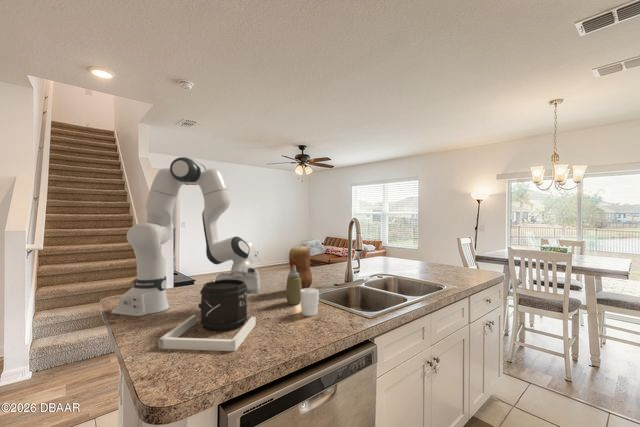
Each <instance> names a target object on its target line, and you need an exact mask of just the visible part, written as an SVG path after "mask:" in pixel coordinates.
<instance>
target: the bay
mask: <svg viewBox="0 0 640 427" xmlns="http://www.w3.org/2000/svg"><path fill="white" fill-rule="evenodd" d="M256 318H257V317H256V316H251V317H250V318H249V319H248V321H246V322H245V324H244V325H243V326H242V328H241V329H240V330H238V332H237V334H236V335H234V336H233V338H232V339H231V338H227V339H226V338H224V339H223V338H202V337H201V338H199V337H197V338H196V337H195V338H194V337H181V336H182V335H183V334H184V333H186V332H187V331H188V330H190V329H191V328H192V327H193V326H195V325H196V324H198V315H196V314H193V315H192V316H190V317H188V318H187V319H185V320H184V321H183V322H181V323H180V324H178V325H177V326H175V327H174V328H172V329H171V330H169V331H168V332H166V333H165V334H164V335H163V336H161V337H160V338H159V339H158V349H159V350H160V349H161V350H163V349H164V350H189V351H190V350H192V351H193V350H194V351H217V352H218V351H221V352H236V351H237V350H238V348H239V347H240V346H241V344H242V343H243V341H244V340H245V339H246V338H247V337H248V335H249V334H250V333H251V331H252V330H253V328H254V327H255V326H256V324H257V323H256V322H257V319H256Z"/></svg>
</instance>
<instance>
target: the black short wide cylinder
mask: <svg viewBox="0 0 640 427" xmlns="http://www.w3.org/2000/svg"><path fill="white" fill-rule="evenodd" d="M246 291H247V285H246V284H245V281H241V280H237V279H224V280H216V279H215V280H214V281H213V280H211V281H209V282H206V283H204V285H203V287H201V289H200V295H201V296H200V297H201V298H200V303H198V309H200V318H201V319H200V322H199V323H200V325H202V328H203V329H205V330H207V331H208V332H215V333H216V332H219V333H220V332H221V333H222V332H229V331H234V330H238V329H239V328H241V327H243V326H244V325H245V324H246V322H247V320H248V311H247V309H248V298H247V297H248V296H247V295H248V294H246Z"/></svg>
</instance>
